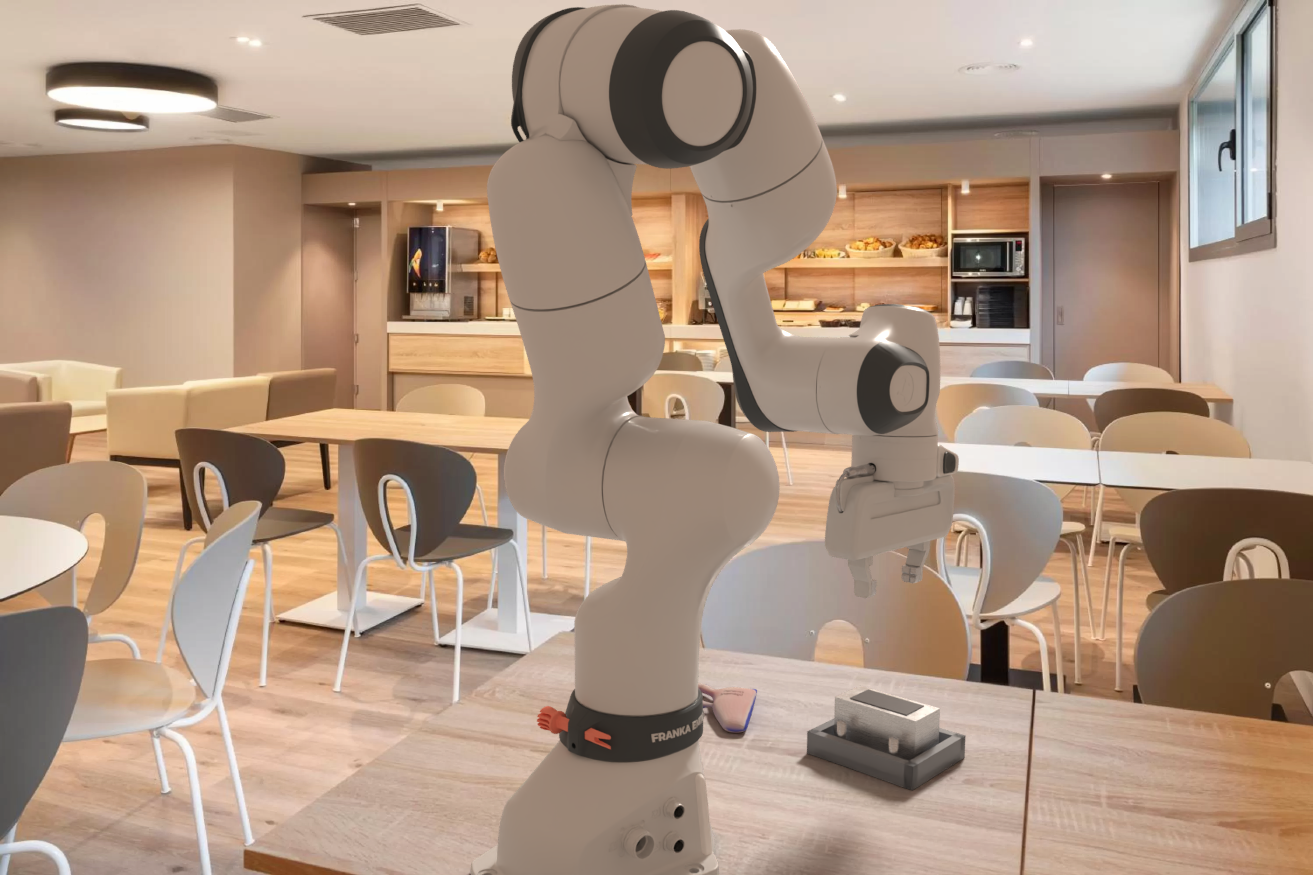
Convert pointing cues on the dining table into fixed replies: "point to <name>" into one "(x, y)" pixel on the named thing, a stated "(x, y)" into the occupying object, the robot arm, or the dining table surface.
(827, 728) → the pin tray
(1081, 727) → the dining table surface
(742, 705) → the anatomical model
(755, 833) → the dining table surface
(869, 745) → the block
